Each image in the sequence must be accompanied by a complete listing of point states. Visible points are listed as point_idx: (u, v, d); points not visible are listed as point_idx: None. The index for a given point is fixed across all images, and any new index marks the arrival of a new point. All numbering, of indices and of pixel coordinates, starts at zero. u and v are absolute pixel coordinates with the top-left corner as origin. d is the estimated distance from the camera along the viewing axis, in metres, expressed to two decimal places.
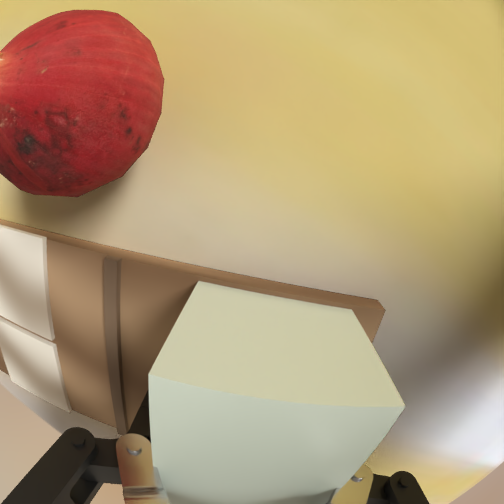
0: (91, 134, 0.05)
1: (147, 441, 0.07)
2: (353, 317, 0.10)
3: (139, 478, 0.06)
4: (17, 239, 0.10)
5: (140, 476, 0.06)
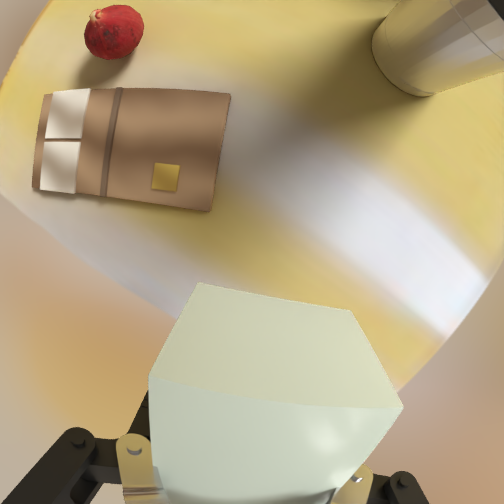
0: (123, 33, 0.18)
1: (147, 441, 0.07)
2: (352, 318, 0.10)
3: (139, 478, 0.06)
4: (75, 92, 0.23)
5: (140, 476, 0.06)
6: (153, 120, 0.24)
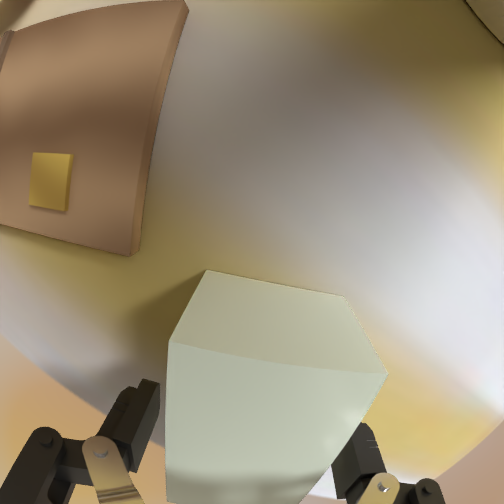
0: None
1: (113, 444, 0.07)
2: (344, 302, 0.12)
3: (110, 481, 0.06)
4: None
5: (103, 479, 0.06)
6: (41, 71, 0.09)
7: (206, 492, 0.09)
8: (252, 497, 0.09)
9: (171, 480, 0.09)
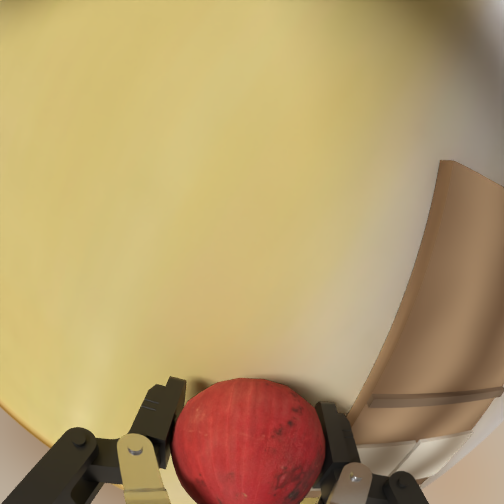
0: (293, 454, 0.07)
1: (148, 441, 0.07)
2: None
3: (140, 478, 0.06)
4: None
5: (141, 476, 0.06)
6: (457, 327, 0.11)
7: None
8: None
9: None
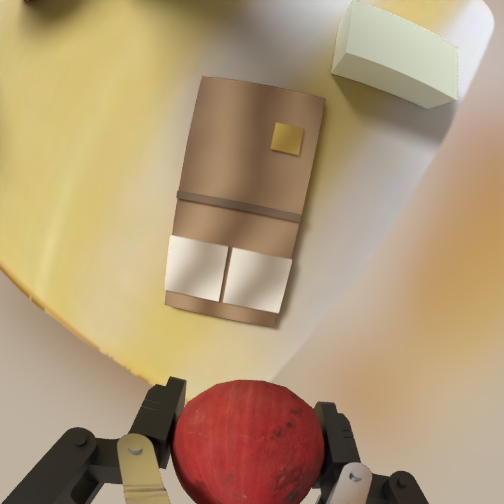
0: (292, 455, 0.07)
1: (148, 441, 0.07)
2: (340, 23, 0.20)
3: (140, 478, 0.06)
4: (171, 255, 0.26)
5: (141, 476, 0.06)
6: (221, 151, 0.24)
7: (437, 72, 0.17)
8: (436, 53, 0.16)
9: (431, 84, 0.17)
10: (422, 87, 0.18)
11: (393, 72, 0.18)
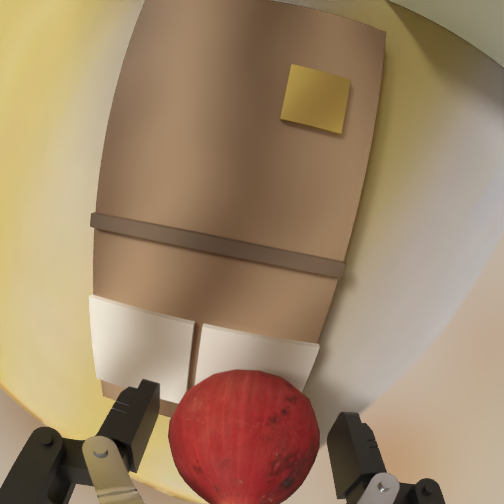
0: (287, 442, 0.08)
1: (113, 444, 0.07)
2: None
3: (110, 481, 0.06)
4: (96, 330, 0.13)
5: (103, 479, 0.06)
6: (174, 128, 0.11)
7: None
8: None
9: None
10: None
11: (503, 3, 0.04)
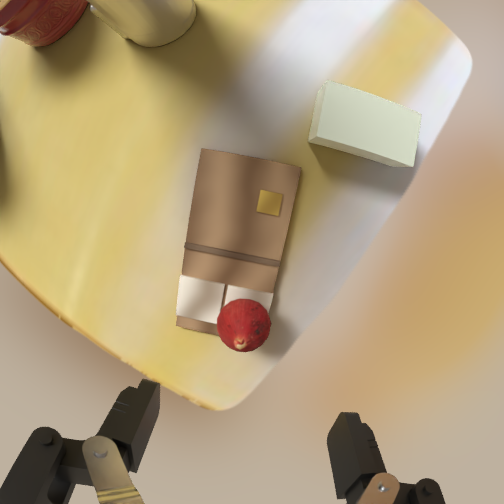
0: (257, 316, 0.29)
1: (113, 444, 0.07)
2: (318, 93, 0.28)
3: (110, 481, 0.06)
4: (181, 290, 0.34)
5: (103, 479, 0.06)
6: (218, 212, 0.32)
7: (397, 143, 0.25)
8: (398, 124, 0.24)
9: (390, 156, 0.25)
10: (382, 157, 0.26)
11: (356, 148, 0.26)
